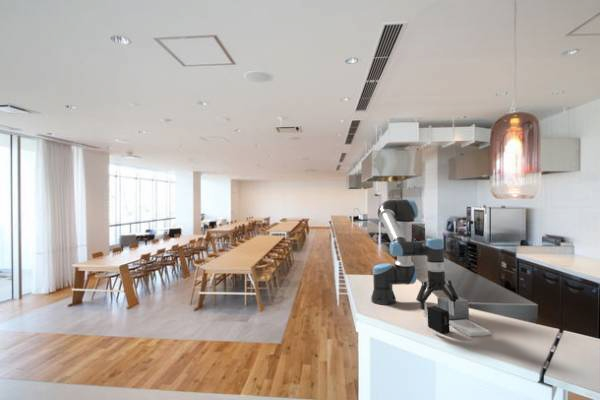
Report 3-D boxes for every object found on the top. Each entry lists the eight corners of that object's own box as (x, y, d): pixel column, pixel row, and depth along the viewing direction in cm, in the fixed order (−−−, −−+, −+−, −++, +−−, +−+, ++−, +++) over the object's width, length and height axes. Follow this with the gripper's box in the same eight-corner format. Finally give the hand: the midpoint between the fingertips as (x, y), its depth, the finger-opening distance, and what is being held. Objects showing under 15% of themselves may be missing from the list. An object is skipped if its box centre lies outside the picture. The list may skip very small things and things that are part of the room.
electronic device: (442, 334, 141) (441, 312, 141) (427, 326, 150) (426, 306, 151) (449, 333, 142) (448, 311, 142) (435, 325, 152) (434, 305, 152)
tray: (448, 324, 153) (448, 320, 153) (466, 322, 154) (466, 319, 154) (469, 336, 137) (469, 332, 137) (490, 335, 139) (490, 331, 139)
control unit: (435, 317, 163) (434, 297, 163) (459, 316, 165) (458, 295, 165) (446, 324, 153) (445, 302, 154) (472, 322, 155) (471, 300, 155)
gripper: (415, 273, 142) (417, 319, 141) (465, 270, 145) (467, 316, 144) (407, 270, 150) (409, 314, 148) (455, 268, 153) (457, 311, 151)
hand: (438, 315), depth 146 cm, fingers open, 13 cm apart
